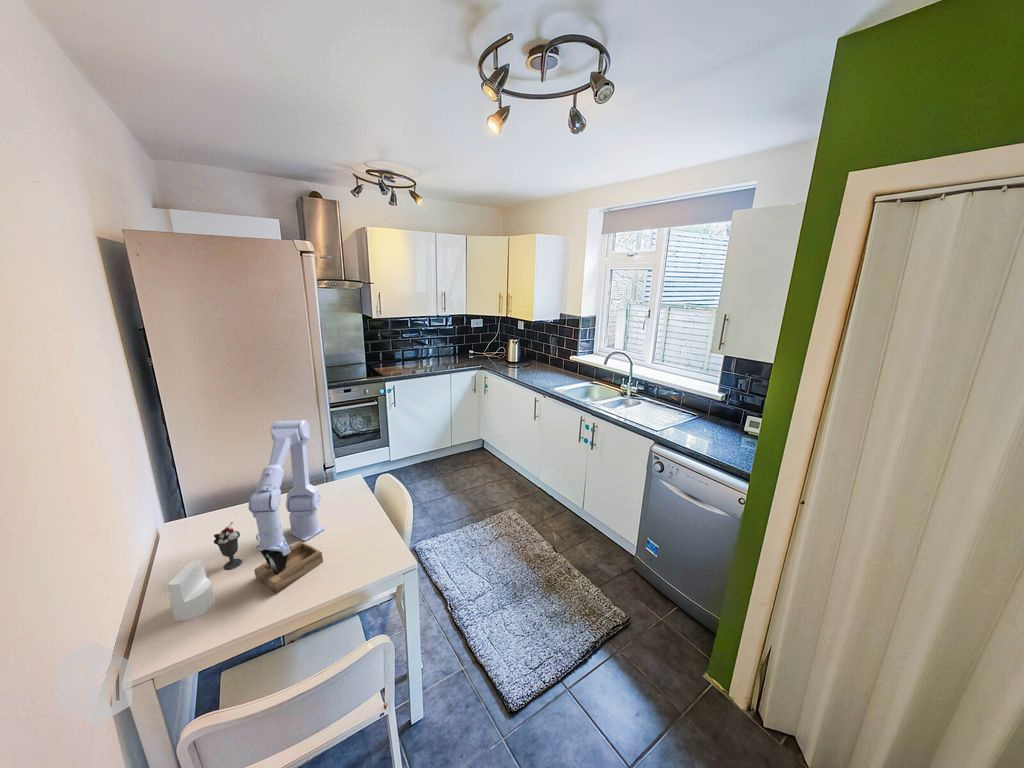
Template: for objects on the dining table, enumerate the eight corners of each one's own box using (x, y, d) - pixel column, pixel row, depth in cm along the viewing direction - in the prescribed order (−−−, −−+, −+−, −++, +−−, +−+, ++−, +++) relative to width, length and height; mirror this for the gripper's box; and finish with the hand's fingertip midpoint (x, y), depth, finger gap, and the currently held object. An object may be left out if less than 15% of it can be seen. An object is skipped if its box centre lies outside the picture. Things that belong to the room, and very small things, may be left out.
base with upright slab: (200, 620, 102) (190, 583, 99) (165, 622, 101) (154, 585, 98) (222, 593, 111) (214, 559, 107) (190, 595, 110) (180, 560, 107)
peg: (268, 574, 115) (262, 553, 113) (283, 565, 119) (278, 544, 117) (276, 579, 112) (270, 558, 111) (291, 570, 116) (286, 548, 114)
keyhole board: (256, 579, 116) (254, 569, 115) (302, 550, 128) (301, 541, 127) (277, 593, 110) (274, 583, 109) (323, 561, 123) (321, 552, 122)
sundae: (250, 559, 124) (242, 520, 120) (229, 574, 118) (220, 533, 114) (236, 554, 126) (227, 516, 122) (215, 568, 120) (205, 528, 116)
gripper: (242, 527, 112) (250, 565, 115) (270, 543, 105) (277, 583, 108) (266, 515, 117) (273, 551, 121) (294, 529, 111) (301, 568, 114)
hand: (277, 566), depth 115 cm, fingers closed on peg, 4 cm apart
